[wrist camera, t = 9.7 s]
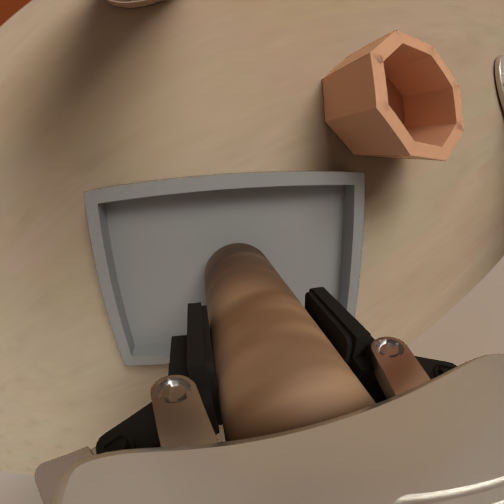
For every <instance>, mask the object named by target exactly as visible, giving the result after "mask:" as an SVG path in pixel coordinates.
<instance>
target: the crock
mask: <svg viewBox="0 0 504 504" xmlns="http://www.w3.org/2000/svg"><path fill="white" fill-rule="evenodd" d="M322 85H323V97H324V112H325V122H326V123H327V124H328V125H329V127H330V128H331V129H332V130H333V131H334V132H335V133H336V134H337V135H338V137H339V138H340V139H341V140H342V141H343V142H344V143H345V145H346V146H347V147H348V148H349V149H350V150H351V152H352V153H353V154H354V155H364V156H377V157H388V158H408V159H426V160H440V161H446V159H447V158H448V156H449V154H450V153H451V151H452V150H453V148H454V146H455V145H456V143H457V141H458V140H459V138H460V136H461V135H462V133H463V131H464V129H463V117H462V107H461V99H460V91H459V86H458V84H457V82H456V81H455V79H454V77H453V76H452V74H451V73H450V71H449V70H448V68H447V66H446V65H445V63H444V62H443V60H442V59H441V58H440V56H439V55H438V53H437V52H436V50H435V49H434V48H433V46H431V45H429V44H427V43H424V42H422V41H420V40H418V39H416V38H413V37H411V36H409V35H406V34H404V33H401V32H399V31H396V30H395V31H393V32H391V33H389V34H387V35H385V36H384V37H382V38H380V39H378V40H376V41H374V42H372V43H371V44H369V45H367V46H365V47H363V48H362V49H360V50H358V51H357V52H355V53H353V54H351V55H350V56H348V57H346V59H344V60H343V61H342V62H341V63H340V64H339V65H338V66H337V67H335V68H334V69H333V70H332V71H331V72H330V73H329V74H328V75H326V76H325V77H324V78H323V79H322Z"/></svg>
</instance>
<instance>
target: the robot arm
mask: <svg viewBox="0 0 504 504" xmlns="http://www.w3.org/2000/svg"><path fill="white" fill-rule="evenodd" d="M495 79H496V85H497V90H498V94H499V98H500V102H501V105H502V109H503V112H504V55H501V56H498V57H497V59H496V61H495ZM305 309H306V311H307V312H308V313H309V315H310V316H311V317H312V318H313V320H314V321H315V322H316V324H317V325H318V326H319V328H320V329H321V330H322V332H323V333H324V334H325V336H326V337H327V338H328V340H329V341H330V342H331V344H332V345H333V346H334V348H335V349H336V350H337V352H338V353H339V354H340V356H341V357H342V358H343V360H344V361H345V362H346V364H347V365H348V366H349V368H350V369H351V370H352V372H353V373H354V374H355V376H356V377H357V378H358V380H359V381H360V382H361V384H362V385H363V386H364V388H365V389H366V391H367V392H368V393H369V395H370V396H371V397H372V399H373V400H374V401H375V403H376V404H374V405H371V406H369V407H366V408H363V409H360V410H357V411H355V412H352V413H349V414H346V415H343V416H339V417H336V418H333V419H330V420H326V421H323V422H319V423H316V424H312V425H308V426H304V427H300V428H296V429H292V430H288V431H283V432H279V433H274V434H269V435H264V436H259V437H253V438H247V439H240V440H233V441H226V442H218V439H217V437H216V434H217V433H220V432H219V426H218V425H222V424H223V422H222V416H221V410H220V404H219V395H218V388H217V381H216V374H215V367H214V359H213V351H212V343H211V335H210V327H209V320H208V312H207V305H203V306H202V305H201V302H198V303H188V309H187V335H179V336H172V338H171V349H170V361H169V374H168V376H166V377H163V378H161V379H159V380H158V381H157V382H156V383H155V384H153V386H152V388H151V399H152V402H151V403H149V404H148V405H147V406H145V407H144V408H142V409H141V410H139V411H138V412H136V413H135V414H133V415H132V416H131V417H129V418H128V419H126V420H125V421H123V422H122V423H120V424H119V425H117V426H116V427H114V428H113V429H111V430H109V431H108V432H106V433H105V434H104V435H102V436H101V437H100V438H99V440H98V442H97V444H96V447H94V448H92V449H90V448H89V447H88V446H87V447H85V448H82V449H80V450H77V451H75V452H72V453H69V454H67V455H64V456H61V457H58V458H55V459H53V460H50V461H47V462H44V463H42V464H41V465H39V466H38V468H37V469H36V472H35V481H36V484H37V487H38V490H39V493H40V496H41V498H42V500H43V503H44V504H504V354H491V355H485V356H482V357H478V358H475V359H473V360H470V361H468V362H465V363H463V364H462V365H460V366H456V365H454V364H452V363H449V362H445V361H439V360H433V359H427V358H422V357H417V356H414V355H413V354H412V352H411V351H410V349H409V348H408V346H407V345H406V344H405V343H404V342H403V341H401V340H399V339H397V338H393V337H381V338H378V339H376V340H374V339H373V338H372V337H371V336H370V335H371V334H370V333H369V332H368V331H367V330H366V329H365V328H364V327H363V326H362V325H361V324H360V323H359V322H358V321H357V320H356V319H355V318H354V317H353V316H352V315H351V314H350V313H349V312H348V311H347V310H346V309H345V308H344V307H343V306H342V305H341V304H340V303H339V302H338V301H337V300H336V299H335V298H334V297H333V296H332V295H331V294H330V293H329V292H328V291H327V290H326V289H325V288H324V287H317V288H310V289H309V292H306V294H305Z"/></svg>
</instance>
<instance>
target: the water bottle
mask: <svg viewBox="0 0 504 504" xmlns="http://www.w3.org/2000/svg"><path fill="white" fill-rule="evenodd" d="M106 1H107V2H108V3H110V4H112V5H114V6H117V7H123V8H135V7H142V6H147V5H151V4H154V3H157V2H159V1H162V0H106Z"/></svg>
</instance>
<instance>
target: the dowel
mask: <svg viewBox="0 0 504 504" xmlns="http://www.w3.org/2000/svg"><path fill="white" fill-rule="evenodd" d="M204 280H205V290H206V301H207V310H208V320H209V327H210V335H211V343H212V351H213V359H214V367H215V374H216V381H217V388H218V395H219V404H220V410H221V416H222V422H223V428H224V434H225V440H226V441H233V440H240V439H247V438H253V437H259V436H264V435H269V434H274V433H279V432H283V431H288V430H292V429H296V428H300V427H304V426H308V425H312V424H316V423H319V422H323V421H326V420H330V419H333V418H336V417H339V416H343V415H346V414H349V413H352V412H355V411H357V410H360V409H363V408H366V407H369V406H371V405H374V404H376V403H375V401H374V400H373V399H372V397H371V396H370V395H369V393H368V392H367V391H366V389H365V388H364V386H363V385H362V384H361V382H360V381H359V380H358V378H357V377H356V376H355V374H354V373H353V372H352V370H351V369H350V368H349V366H348V365H347V364H346V362H345V361H344V360H343V358H342V357H341V356H340V354H339V353H338V352H337V350H336V349H335V348H334V346H333V345H332V344H331V342H330V341H329V340H328V338H327V337H326V336H325V334H324V333H323V332H322V330H321V329H320V328H319V326H318V325H317V324H316V322H315V321H314V320H313V318H312V317H311V316H310V315H309V313H308V312H307V311H306V309H305V308H304V307H303V305H302V304H301V303H300V301H299V300H298V299H297V297H296V296H295V295H294V293H293V292H292V291H291V289H290V288H289V287H288V286H287V284H286V283H285V282H284V280H283V279H282V278H281V276H280V275H279V274H278V272H277V271H276V270H275V268H274V267H273V266H272V265H271V263H270V262H269V261H268V259H267V258H266V257H265V255H264V254H263V253H262V252H261V251H260V250H259V249H257V248H256V247H254V246H252V245H249V244H245V243H233V244H229V245H226V246H224V247H222V248H220V249H218V250H217V251H216V252H215V253H214V254H213V255H212V256H211V257H210V259H209V260H208V262H207V264H206V267H205V272H204Z"/></svg>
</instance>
